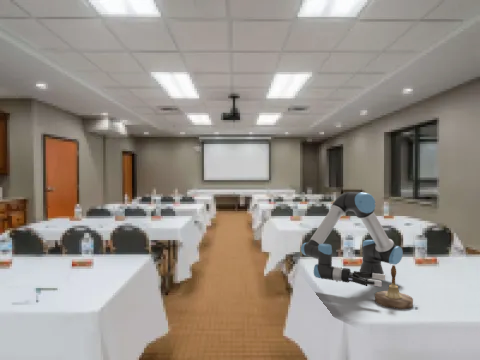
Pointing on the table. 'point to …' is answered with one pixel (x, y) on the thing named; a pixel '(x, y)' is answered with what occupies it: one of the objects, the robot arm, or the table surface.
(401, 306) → the walnut stand
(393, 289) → the hand bell
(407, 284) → the table surface
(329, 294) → the table surface
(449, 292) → the table surface
